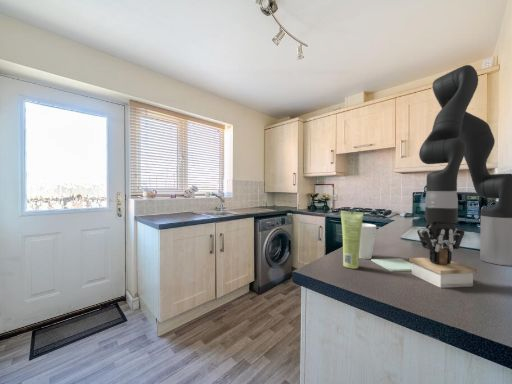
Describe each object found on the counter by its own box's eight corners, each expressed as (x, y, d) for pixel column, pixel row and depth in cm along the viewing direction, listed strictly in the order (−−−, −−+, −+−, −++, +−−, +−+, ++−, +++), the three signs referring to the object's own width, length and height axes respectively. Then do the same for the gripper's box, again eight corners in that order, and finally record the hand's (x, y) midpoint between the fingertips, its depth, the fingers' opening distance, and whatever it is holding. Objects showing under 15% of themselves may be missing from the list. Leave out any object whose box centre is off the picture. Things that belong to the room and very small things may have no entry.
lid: (440, 260, 72) (440, 243, 72) (476, 272, 61) (476, 253, 61) (409, 261, 71) (409, 244, 71) (440, 274, 60) (440, 254, 60)
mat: (400, 259, 85) (400, 258, 85) (424, 270, 74) (424, 268, 74) (371, 260, 84) (371, 259, 84) (391, 271, 73) (391, 269, 73)
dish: (439, 272, 72) (440, 260, 72) (472, 286, 62) (473, 272, 62) (411, 273, 71) (411, 261, 71) (440, 287, 61) (440, 273, 61)
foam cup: (379, 261, 83) (379, 227, 83) (353, 259, 85) (353, 226, 85) (371, 253, 93) (371, 223, 93) (348, 252, 95) (348, 222, 94)
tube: (352, 263, 81) (352, 210, 80) (363, 268, 76) (363, 212, 76) (339, 265, 79) (340, 211, 78) (350, 270, 74) (350, 212, 74)
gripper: (450, 205, 70) (449, 258, 70) (409, 205, 69) (408, 259, 69) (475, 207, 63) (474, 266, 63) (430, 207, 61) (429, 268, 62)
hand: (440, 262), depth 66 cm, fingers closed on lid, 3 cm apart
